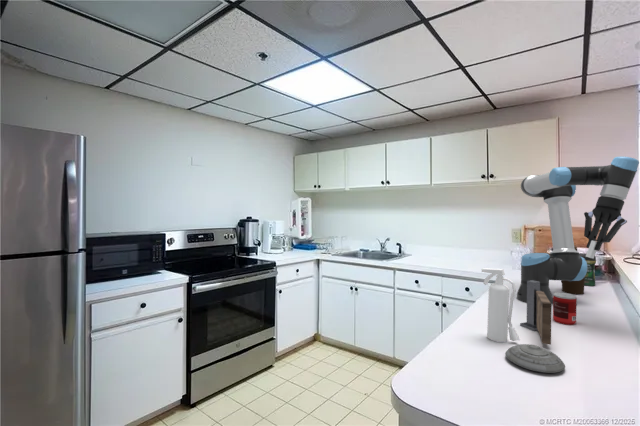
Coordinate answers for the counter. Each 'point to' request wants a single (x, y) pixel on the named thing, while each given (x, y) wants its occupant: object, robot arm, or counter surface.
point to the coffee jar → (589, 270)
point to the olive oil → (573, 285)
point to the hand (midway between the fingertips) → (589, 257)
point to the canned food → (564, 308)
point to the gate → (544, 317)
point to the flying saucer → (535, 358)
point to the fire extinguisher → (499, 307)
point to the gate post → (531, 305)
